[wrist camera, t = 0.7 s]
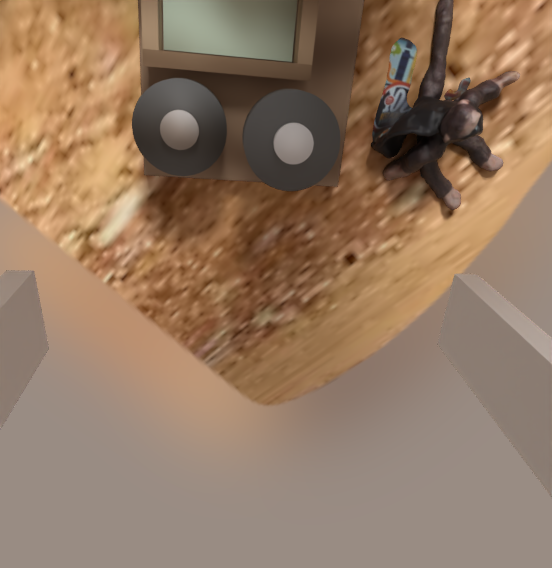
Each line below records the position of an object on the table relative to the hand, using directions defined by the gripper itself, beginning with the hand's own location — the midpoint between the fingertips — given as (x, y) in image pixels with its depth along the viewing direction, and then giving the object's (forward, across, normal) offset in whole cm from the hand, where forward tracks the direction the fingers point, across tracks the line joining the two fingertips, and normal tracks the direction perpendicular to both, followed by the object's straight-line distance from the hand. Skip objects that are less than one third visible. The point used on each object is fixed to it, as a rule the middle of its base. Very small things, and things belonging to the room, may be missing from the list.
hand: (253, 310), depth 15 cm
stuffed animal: (+25, +16, +4) cm, 30 cm away
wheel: (+18, +3, +3) cm, 19 cm away
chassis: (+24, +1, +9) cm, 26 cm away
